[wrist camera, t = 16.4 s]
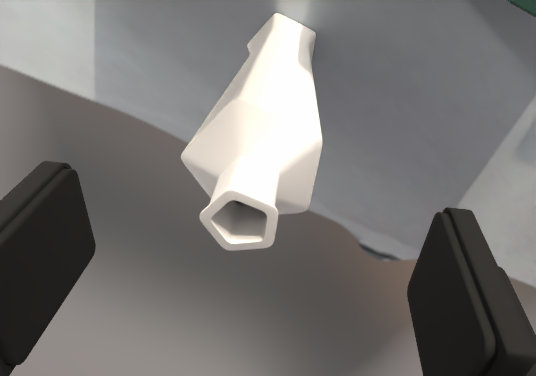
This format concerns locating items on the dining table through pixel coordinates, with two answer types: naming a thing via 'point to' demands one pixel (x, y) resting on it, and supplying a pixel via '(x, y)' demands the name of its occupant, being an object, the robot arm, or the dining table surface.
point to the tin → (525, 5)
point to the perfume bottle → (260, 140)
